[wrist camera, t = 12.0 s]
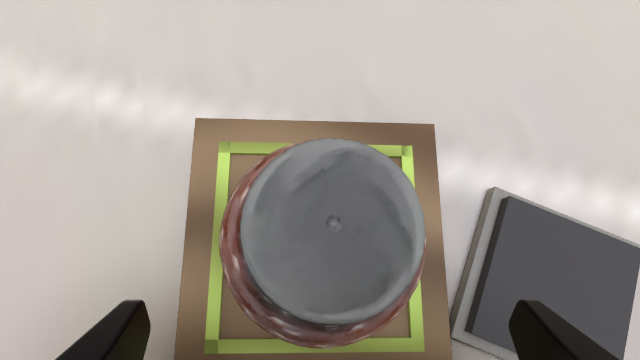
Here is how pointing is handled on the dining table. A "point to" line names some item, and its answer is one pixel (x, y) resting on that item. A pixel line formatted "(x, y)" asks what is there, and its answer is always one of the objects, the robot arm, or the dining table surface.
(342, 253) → the supplement bottle
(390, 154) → the board
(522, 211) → the pad
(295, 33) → the dining table surface
